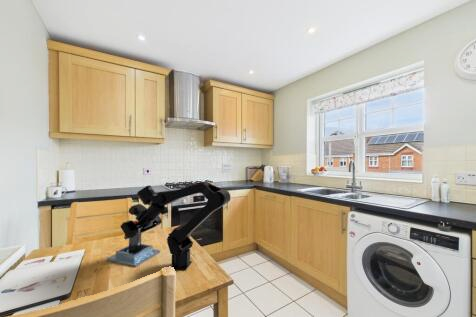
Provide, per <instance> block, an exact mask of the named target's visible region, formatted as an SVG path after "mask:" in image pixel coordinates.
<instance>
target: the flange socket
mask: <svg viewBox="0 0 476 317" xmlns="http://www.w3.org/2000/svg"><path fill="white" fill-rule="evenodd" d="M141 249H142V250H141V251H139V252H137V253H135V254H133V253H128V251H129V245H127V246H124V247H123V248H120V249H118V250H115V254H113V255H110V256H109V257H107V258H106V261H108V262H113V263H117V264H121V265H124V266H125V265H127V266H130V267H136V268H137V267H139V266H140V265H141V264H143V263H145V262H147V261H149V260H150V259H152V258H154V257H156V256H157V255H158V254H160V253H161V250H160V249H155V248H153V245H150V244H144V243H141Z"/></svg>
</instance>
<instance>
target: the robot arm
mask: <svg viewBox="0 0 476 317" xmlns="http://www.w3.org/2000/svg"><path fill="white" fill-rule="evenodd" d="M195 194H202V196H203V197H204V198H205V199H206V200H207V201H206V203H205V205H204V206H203V207H202V208H201V209H200V210H199V211H198V212H197V213H196V214H195V215H194V216H193V217H192V218H191V219H189V221H188V222H186V223H185V225H184V224H180V225H179V226H177V227H175V228H174V229H172V231H171V232H170V233H168V236H167V238H166V241H167V242H166V243H167V247H168V251H169V253H170V255H171V266H172V267H174V268H175V269H174V270H182V271H186V270H187V269H188V268H189V267H190V265H191V264H192V263H193V262H192V260H191V248H192V247H193V244H194V241H193V240H192V239H191V235H192V233H193V232H194V231H195V230H196V229H197V228H198V227H199V226H200V225H201V224H203V223H204V221H205V220H207V218H209V217H210V216H211V215H212V214H213V213H214V212H215V211H217V210H219V209H220V208H222V207H223V206H225V205H226V204H228V203H229V202H230V201H231V194H230V192H229V191H228V190H227V189H222V188H220V187H218V186H216V185H214V184H211V183H210V182H208V181H206V180H205V181H199V182H198V183H196V184H192V185H189V186H186V187H183V188H178V189H169V190H165V191H160V192H157V193H156V192H155V190H154V189H153V187H152V186H151V185H146V186H144V187H143V188H142V189H140V190H138V191H137V193H136V195H137V198H138V199H139V200H140V201H141V202H142V204H141V203H138V204H133V205H132V206H130V207H129V208H128V213H129V214H130V215H132V216H133V215H134V216H135V221H138V223H137V224H134V222H133V221H134V220H131V219H130V220H127V221H124V222H122V223H121V224H120V227H119V228H120V229H121V230H122V232H123V233H124V237H123V238H124V240H125V241H126V240H129V238H130V237H133V236H135V235H137V233H138V229H140V228H141V234H142V233H145V232H147V231H149V230H151V229H154V228H157V226H159V225H161V224H162V221H163V220H162V218H161V217H160V215H162V216H164V215H166V214H168V213H169V208H168V206H166V205H170V204H174V203H175V202H176V201H179V200H180V199H182V198H185V197H189V196H192V195H195ZM146 206H148V208H147V207H146Z"/></svg>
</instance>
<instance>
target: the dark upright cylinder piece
mask: <svg viewBox="0 0 476 317" xmlns="http://www.w3.org/2000/svg"><path fill="white" fill-rule="evenodd" d="M132 221H133V222H134V224H137V223H138V220H132ZM141 244H142V233H141V228H140V229H138V233H137V235H135V236H133V237H130V238H128V246H129V251H128V253H133V254H135V253H137V252H139V251H141V250H142V249H141Z"/></svg>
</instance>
